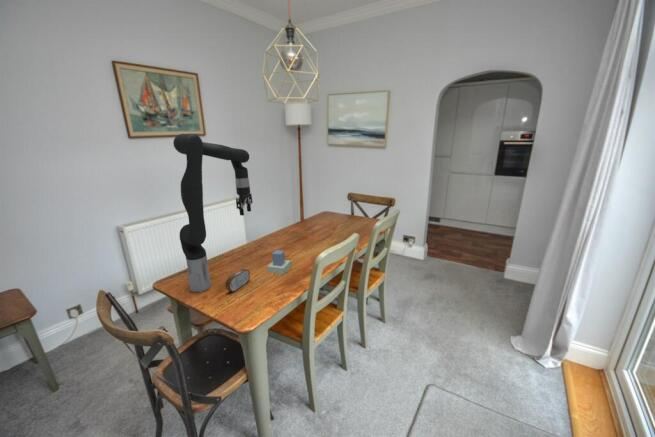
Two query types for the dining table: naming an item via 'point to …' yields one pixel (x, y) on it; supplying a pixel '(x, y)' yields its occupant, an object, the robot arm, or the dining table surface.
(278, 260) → the slate block
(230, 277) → the tin
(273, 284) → the dining table surface
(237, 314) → the dining table surface
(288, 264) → the sage tile
